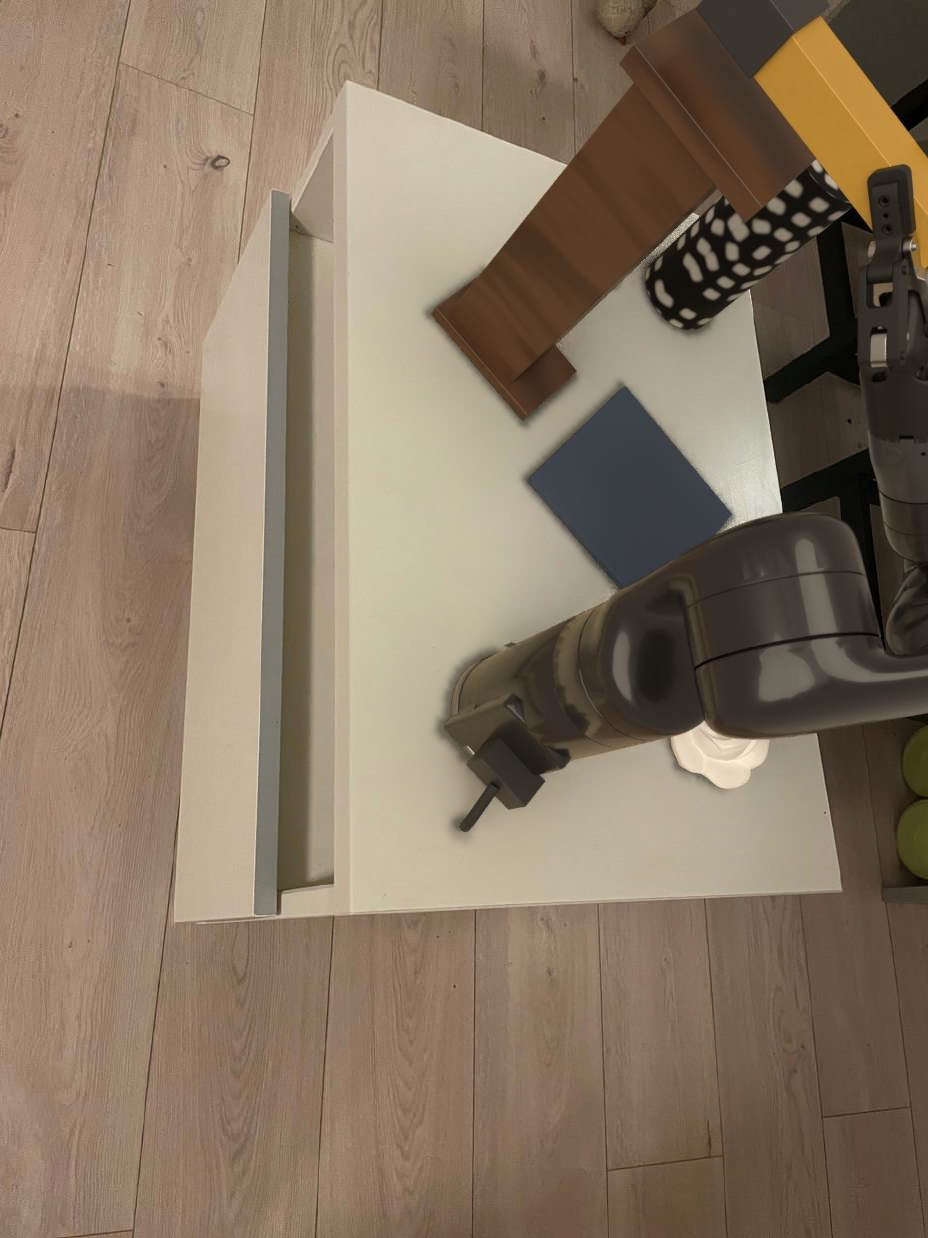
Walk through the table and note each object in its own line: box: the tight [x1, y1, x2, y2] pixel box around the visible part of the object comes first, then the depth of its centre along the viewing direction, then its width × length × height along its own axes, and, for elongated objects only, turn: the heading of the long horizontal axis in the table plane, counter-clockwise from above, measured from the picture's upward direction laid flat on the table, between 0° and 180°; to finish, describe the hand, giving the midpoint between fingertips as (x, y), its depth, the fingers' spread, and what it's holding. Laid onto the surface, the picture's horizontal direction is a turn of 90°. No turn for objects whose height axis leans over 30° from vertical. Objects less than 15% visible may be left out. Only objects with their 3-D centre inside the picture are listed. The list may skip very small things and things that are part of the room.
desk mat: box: [526, 385, 733, 589], centre depth 84 cm, size 16×16×1 cm
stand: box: [430, 5, 816, 421], centre depth 69 cm, size 10×12×30 cm
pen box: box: [695, 0, 928, 268], centre depth 54 cm, size 5×20×4 cm, turn 48°
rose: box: [669, 721, 771, 790], centre depth 79 cm, size 10×4×10 cm
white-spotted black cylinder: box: [645, 159, 854, 331], centre depth 86 cm, size 8×8×20 cm
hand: (902, 155), depth 53 cm, fingers closed on pen box, 4 cm apart
